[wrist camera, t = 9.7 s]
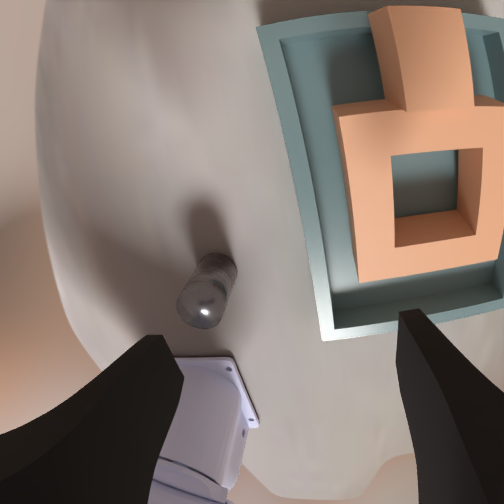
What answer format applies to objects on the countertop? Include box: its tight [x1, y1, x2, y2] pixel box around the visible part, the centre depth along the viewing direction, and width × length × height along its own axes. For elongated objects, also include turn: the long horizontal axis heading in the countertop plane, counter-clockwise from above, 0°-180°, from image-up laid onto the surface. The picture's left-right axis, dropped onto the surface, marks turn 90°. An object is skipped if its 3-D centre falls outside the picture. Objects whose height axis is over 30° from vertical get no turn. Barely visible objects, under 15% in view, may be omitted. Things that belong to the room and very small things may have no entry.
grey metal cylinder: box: [177, 254, 237, 329], centre depth 18 cm, size 2×2×4 cm
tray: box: [256, 10, 504, 341], centre depth 14 cm, size 17×13×2 cm
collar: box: [331, 6, 504, 283], centre depth 11 cm, size 12×8×3 cm, turn 14°
